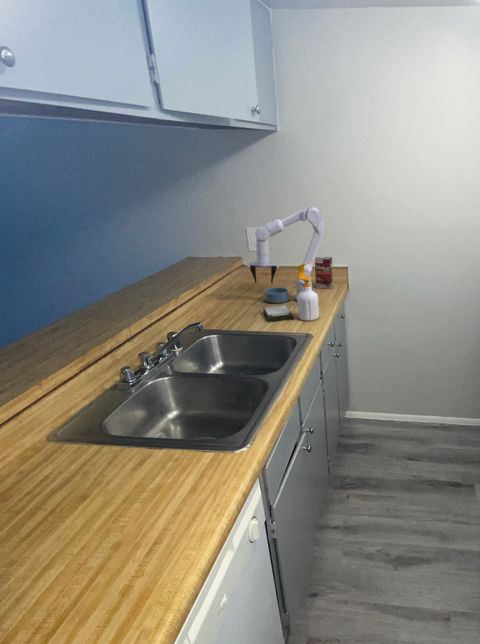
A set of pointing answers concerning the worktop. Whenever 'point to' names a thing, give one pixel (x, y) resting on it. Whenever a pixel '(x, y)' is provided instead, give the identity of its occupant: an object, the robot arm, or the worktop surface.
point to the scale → (277, 313)
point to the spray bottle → (307, 298)
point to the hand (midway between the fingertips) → (263, 282)
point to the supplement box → (323, 272)
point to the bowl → (277, 295)
